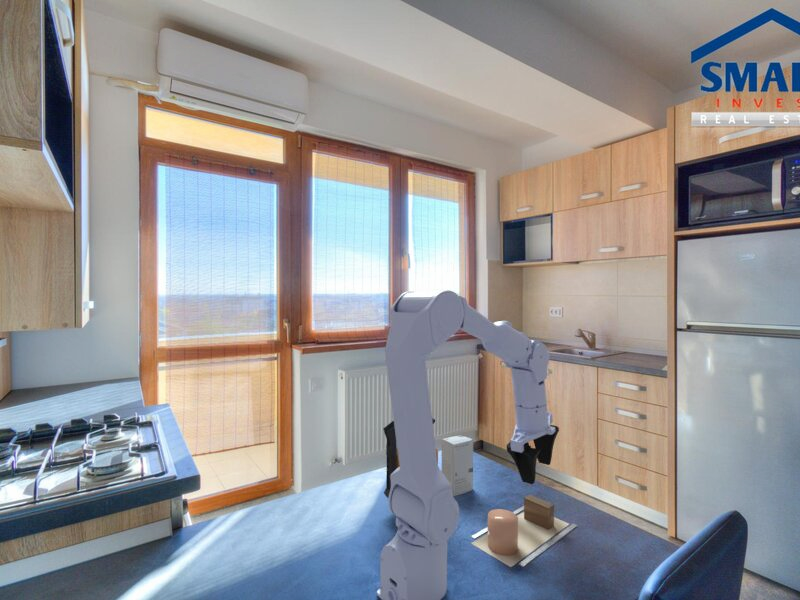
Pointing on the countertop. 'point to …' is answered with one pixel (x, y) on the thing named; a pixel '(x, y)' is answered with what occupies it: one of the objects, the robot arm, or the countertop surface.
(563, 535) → the guide rails
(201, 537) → the countertop surface
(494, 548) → the tan rounded piece
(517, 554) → the beige board with block
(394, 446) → the canister
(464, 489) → the skincare box
